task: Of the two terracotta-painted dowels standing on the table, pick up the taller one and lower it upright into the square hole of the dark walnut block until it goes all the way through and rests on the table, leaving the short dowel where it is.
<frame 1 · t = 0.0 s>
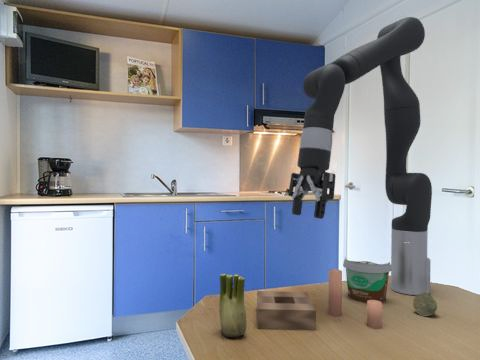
hand: (306, 216, 84), 22 cm above the table, tool pointing down, fingers open, 8 cm apart
food container: (364, 301, 92), on the table
lime: (424, 315, 83), on the table
walnut block: (284, 317, 80), on the table
long dowel: (334, 313, 82), on the table
short dowel: (374, 325, 76), on the table
fennel bulb: (233, 335, 71), on the table
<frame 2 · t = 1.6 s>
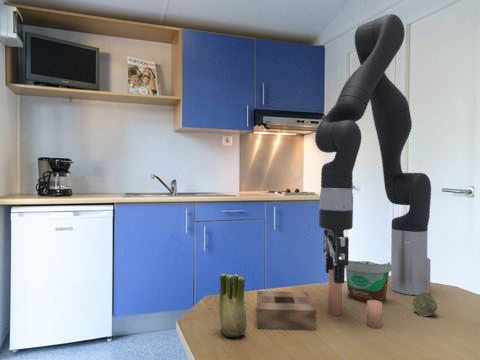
hand: (334, 277, 82), 8 cm above the table, tool pointing down, fingers open, 8 cm apart
nothing on the table moved.
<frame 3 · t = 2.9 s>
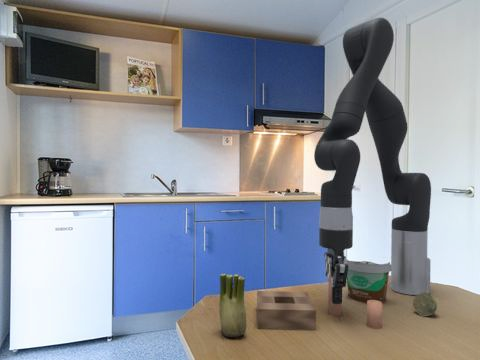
hand: (335, 300, 82), 3 cm above the table, tool pointing down, fingers closed on long dowel, 3 cm apart
long dowel: (334, 313, 82), on the table, touching gripper
everything else where it was.
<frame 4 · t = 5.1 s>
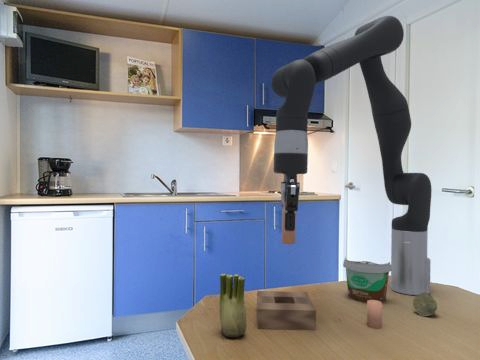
hand: (288, 229, 80), 20 cm above the table, tool pointing down, fingers closed on long dowel, 3 cm apart
long dowel: (288, 243, 80), point 17 cm above the table, touching gripper
everything else where it was.
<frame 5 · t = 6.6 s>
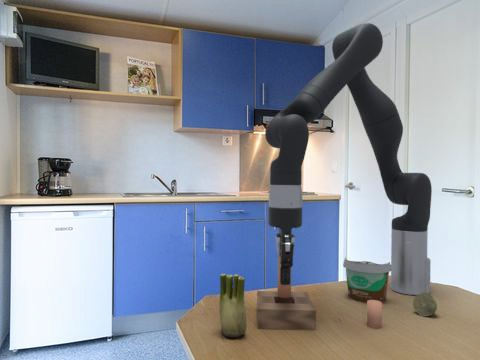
hand: (284, 281, 80), 8 cm above the table, tool pointing down, fingers closed on long dowel, 3 cm apart
long dowel: (284, 295, 80), point 5 cm above the table, touching gripper
everything else where it was.
when the fingers open (5 cm above the table, at t = 7.5 s): long dowel drops 1 cm, resting in walnut block.
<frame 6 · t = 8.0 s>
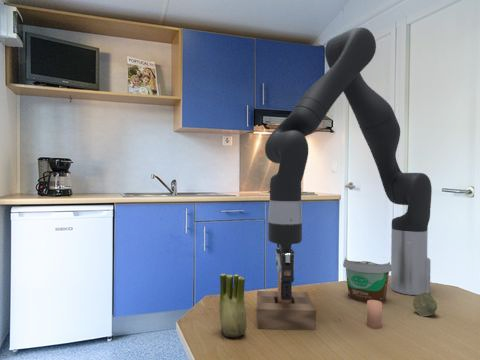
hand: (284, 293, 80), 5 cm above the table, tool pointing down, fingers open, 7 cm apart
long dowel: (284, 317, 80), resting in walnut block
everything else where it was.
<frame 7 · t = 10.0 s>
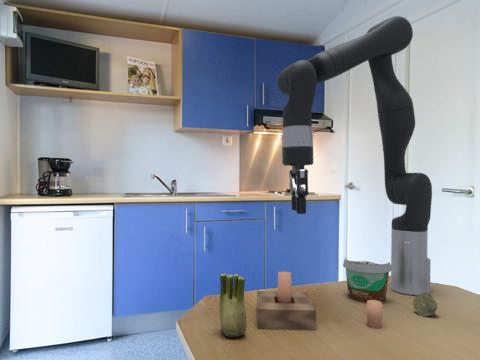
hand: (298, 211, 87), 23 cm above the table, tool pointing down, fingers open, 8 cm apart
nothing on the table moved.
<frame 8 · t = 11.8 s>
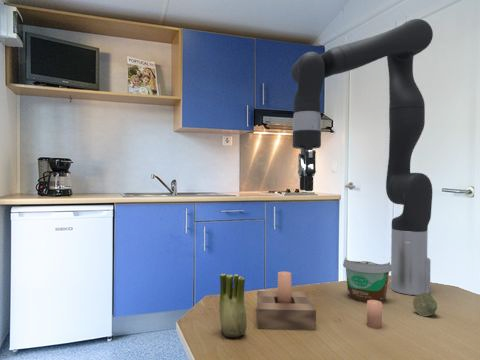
hand: (306, 190, 96), 28 cm above the table, tool pointing down, fingers open, 8 cm apart
nothing on the table moved.
at the end: long dowel 0.1 cm off-centre on the walnut block, point 0.0 cm above the walnut block's base; long dowel tilted 0°; short dowel moved 0.0 cm from its start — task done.
